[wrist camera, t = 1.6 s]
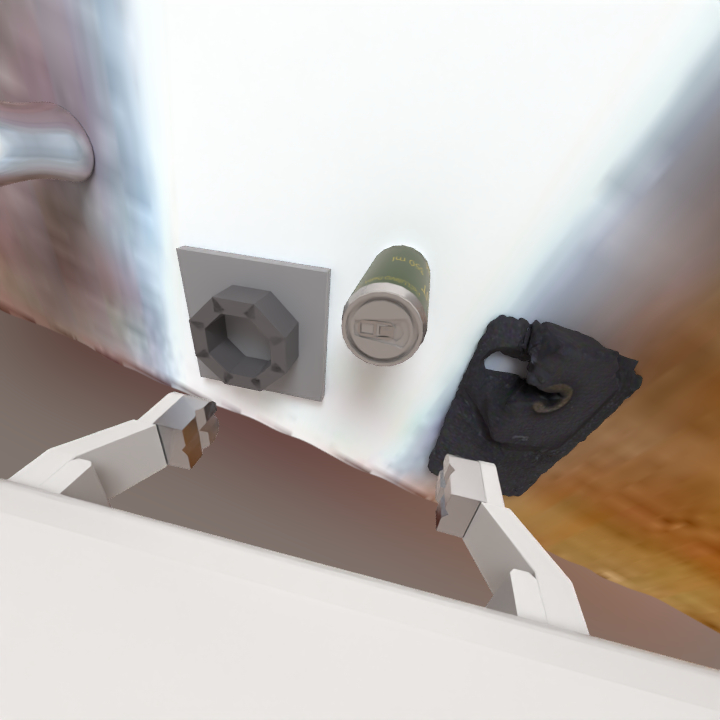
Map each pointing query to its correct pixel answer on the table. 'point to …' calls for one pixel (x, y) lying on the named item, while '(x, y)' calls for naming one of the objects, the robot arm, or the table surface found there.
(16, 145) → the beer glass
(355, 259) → the table surface
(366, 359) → the beer can
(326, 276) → the barrel holder
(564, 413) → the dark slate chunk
